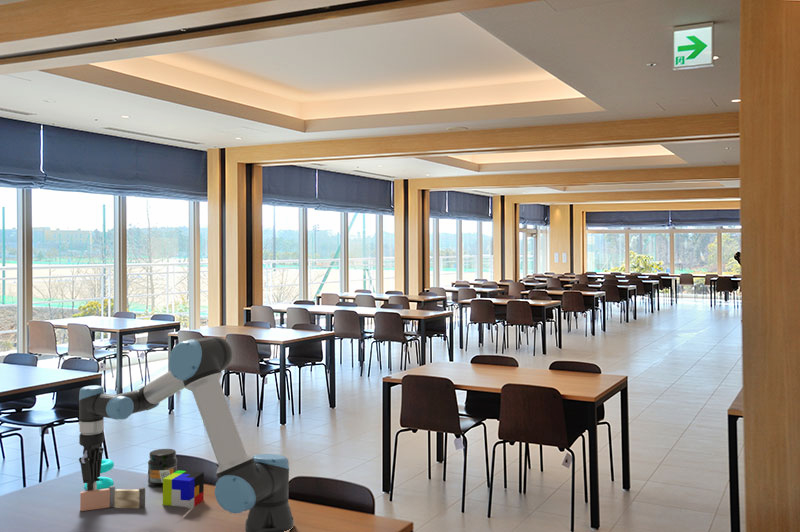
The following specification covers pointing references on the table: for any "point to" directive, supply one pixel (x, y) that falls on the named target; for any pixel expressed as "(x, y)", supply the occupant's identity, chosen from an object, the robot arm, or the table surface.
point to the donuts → (104, 481)
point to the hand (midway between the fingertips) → (91, 501)
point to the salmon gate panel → (97, 499)
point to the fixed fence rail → (130, 498)
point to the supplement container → (161, 466)
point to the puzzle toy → (183, 489)
